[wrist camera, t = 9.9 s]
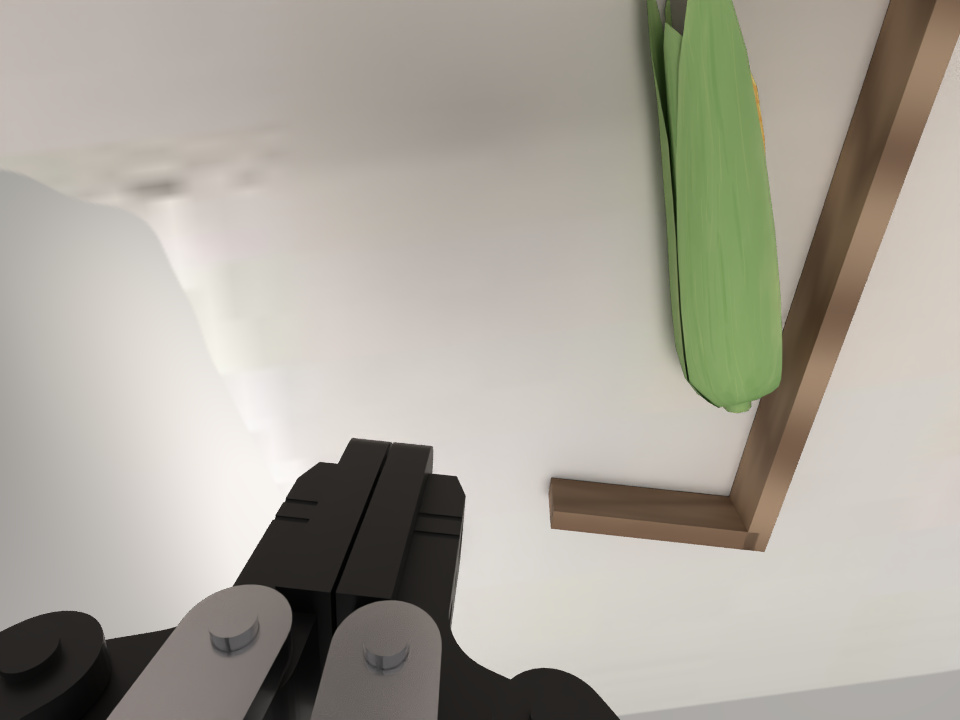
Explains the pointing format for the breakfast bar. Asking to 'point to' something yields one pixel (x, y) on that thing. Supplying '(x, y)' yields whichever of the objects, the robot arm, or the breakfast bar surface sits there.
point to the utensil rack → (802, 304)
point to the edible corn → (717, 207)
